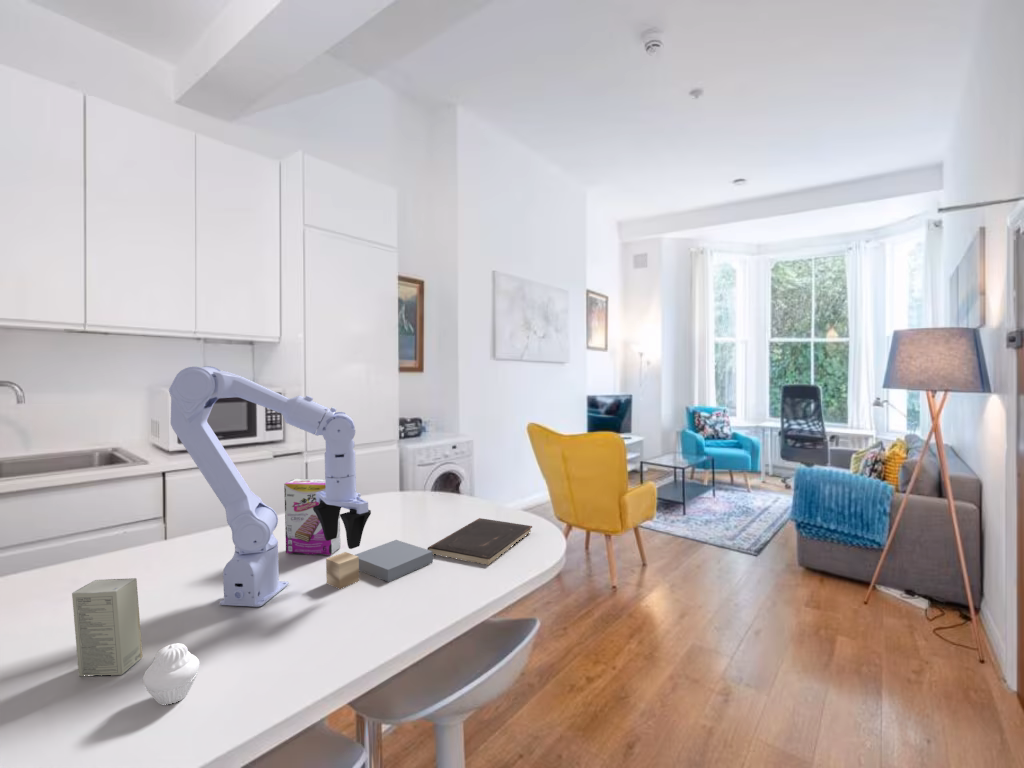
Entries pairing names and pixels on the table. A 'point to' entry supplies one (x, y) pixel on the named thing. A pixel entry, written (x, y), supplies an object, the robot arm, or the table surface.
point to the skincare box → (107, 626)
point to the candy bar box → (306, 519)
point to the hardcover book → (480, 540)
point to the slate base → (393, 560)
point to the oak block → (342, 570)
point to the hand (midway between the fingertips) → (342, 543)
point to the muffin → (171, 674)
